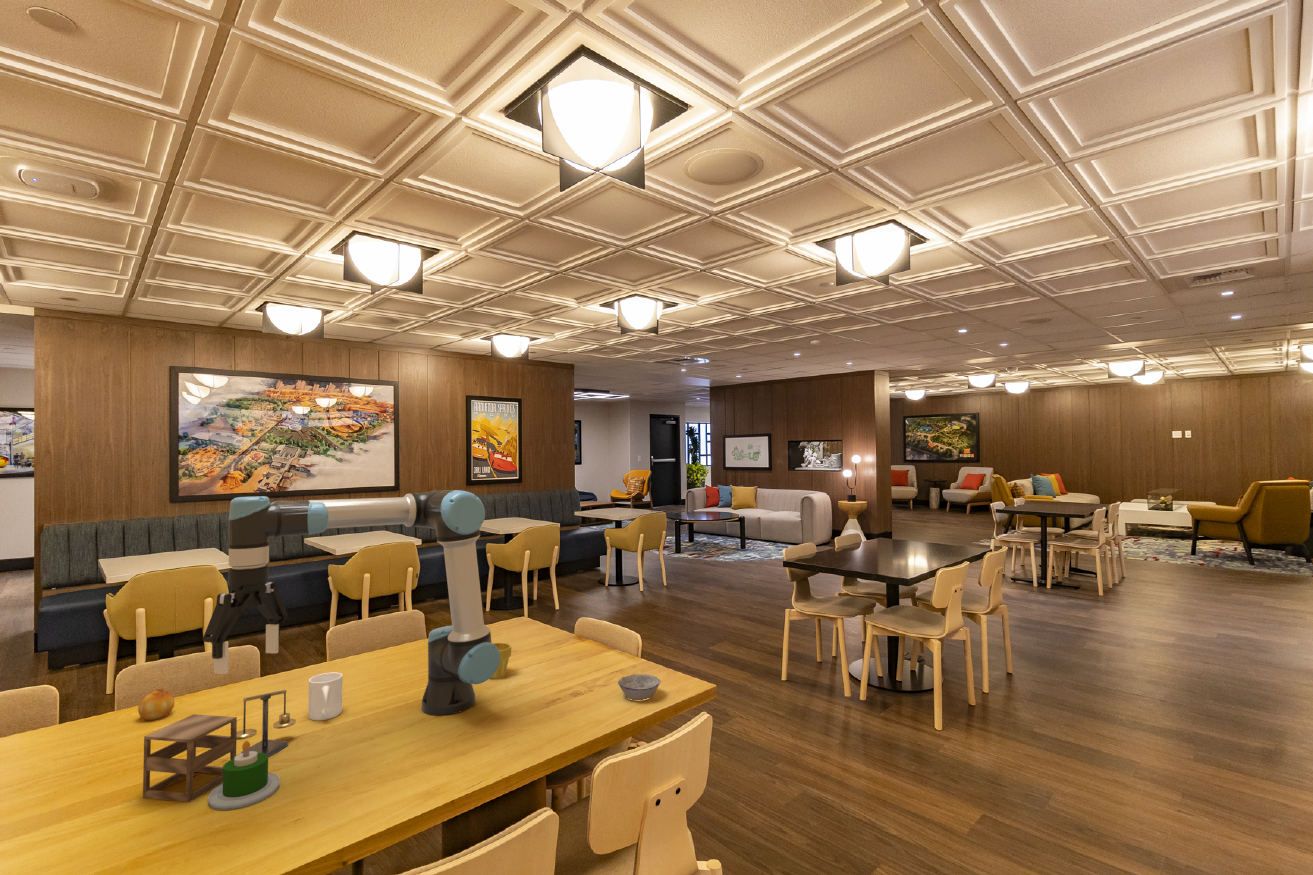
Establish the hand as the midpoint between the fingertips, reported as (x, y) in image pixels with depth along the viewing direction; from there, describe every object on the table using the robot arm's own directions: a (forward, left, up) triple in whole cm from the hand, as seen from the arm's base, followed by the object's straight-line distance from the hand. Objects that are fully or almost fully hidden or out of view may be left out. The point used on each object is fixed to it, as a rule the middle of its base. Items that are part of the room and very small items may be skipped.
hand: (247, 662), depth 135 cm
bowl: (-75, -67, -29) cm, 104 cm away
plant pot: (-23, -78, -29) cm, 86 cm away
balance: (+12, -18, -28) cm, 35 cm away
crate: (+15, -1, -28) cm, 32 cm away
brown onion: (+60, -32, -29) cm, 74 cm away
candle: (0, 0, -27) cm, 27 cm away
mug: (+11, -39, -29) cm, 50 cm away
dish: (0, 0, -28) cm, 28 cm away
